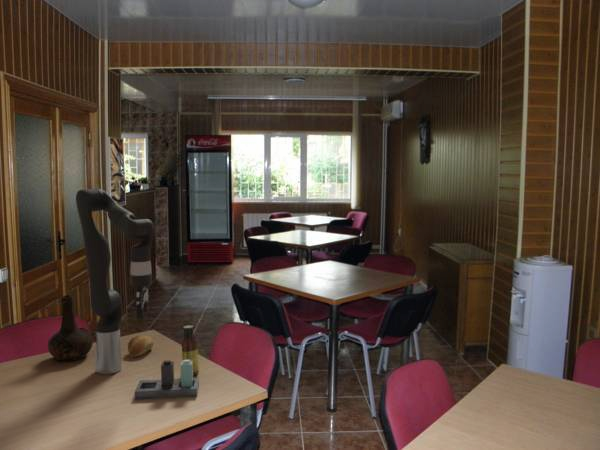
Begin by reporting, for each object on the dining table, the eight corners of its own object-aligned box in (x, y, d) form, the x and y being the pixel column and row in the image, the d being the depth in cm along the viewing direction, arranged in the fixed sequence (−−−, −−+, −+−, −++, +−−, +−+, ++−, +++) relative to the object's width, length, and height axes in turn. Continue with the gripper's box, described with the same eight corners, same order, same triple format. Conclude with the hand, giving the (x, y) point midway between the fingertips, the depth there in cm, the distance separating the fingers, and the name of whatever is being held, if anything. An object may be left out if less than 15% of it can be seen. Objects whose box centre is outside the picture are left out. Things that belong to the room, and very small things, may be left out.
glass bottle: (101, 355, 227) (99, 294, 224) (64, 368, 212) (61, 302, 209) (77, 348, 236) (74, 289, 233) (40, 360, 221) (37, 297, 218)
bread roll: (122, 358, 223) (121, 340, 222) (137, 347, 238) (137, 330, 237) (142, 359, 222) (142, 341, 221) (157, 348, 237) (156, 331, 236)
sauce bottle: (200, 371, 208) (199, 324, 206) (196, 377, 202) (195, 329, 200) (185, 370, 209) (184, 323, 207) (180, 376, 202) (179, 328, 201)
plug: (181, 394, 187) (180, 362, 185) (182, 389, 190) (181, 358, 189) (192, 393, 187) (191, 362, 186) (193, 388, 191) (192, 358, 190)
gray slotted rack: (134, 399, 182) (133, 367, 181) (140, 388, 192) (139, 357, 190) (196, 396, 184) (196, 364, 183) (199, 385, 194) (198, 355, 193)
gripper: (147, 276, 181) (149, 320, 183) (154, 269, 196) (155, 310, 197) (126, 276, 181) (127, 321, 182) (134, 269, 195) (135, 310, 196)
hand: (142, 315), depth 190 cm, fingers open, 8 cm apart
